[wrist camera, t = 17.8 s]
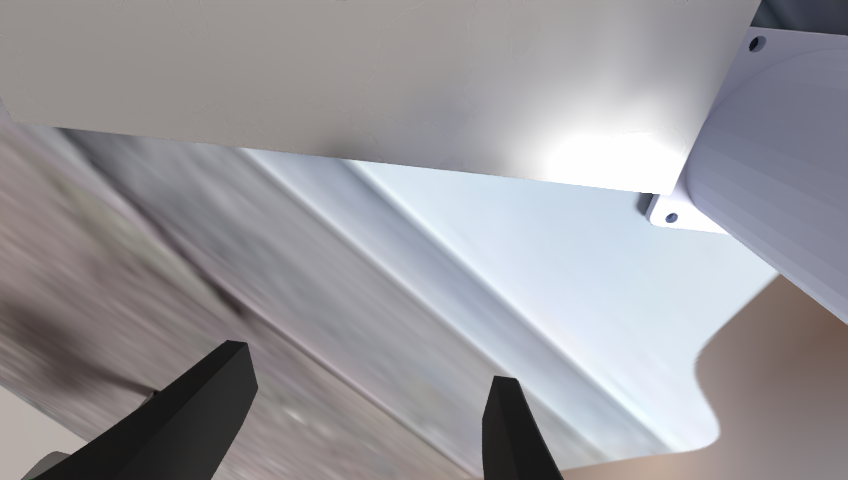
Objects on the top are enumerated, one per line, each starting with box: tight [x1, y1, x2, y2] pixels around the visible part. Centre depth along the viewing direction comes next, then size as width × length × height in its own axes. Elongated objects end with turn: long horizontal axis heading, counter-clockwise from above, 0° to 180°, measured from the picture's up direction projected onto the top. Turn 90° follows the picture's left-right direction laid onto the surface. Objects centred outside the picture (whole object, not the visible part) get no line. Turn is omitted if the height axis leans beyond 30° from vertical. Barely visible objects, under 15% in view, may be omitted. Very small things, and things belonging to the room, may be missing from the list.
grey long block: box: [0, 0, 762, 195], centre depth 12 cm, size 20×6×6 cm, turn 85°
